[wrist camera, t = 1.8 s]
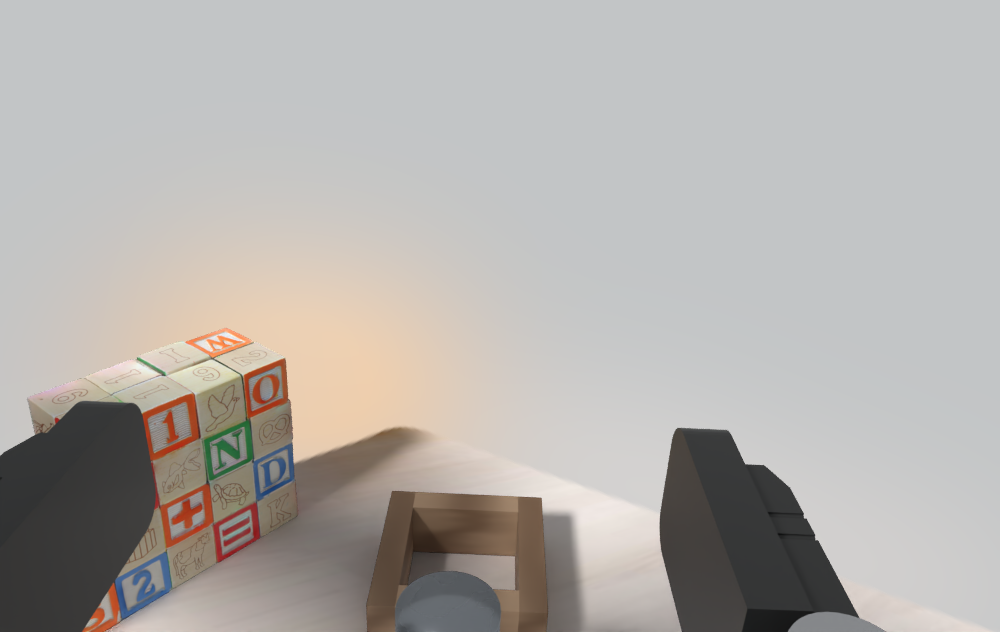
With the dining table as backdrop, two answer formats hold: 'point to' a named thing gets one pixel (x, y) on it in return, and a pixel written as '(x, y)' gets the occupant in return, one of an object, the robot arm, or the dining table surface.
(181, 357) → the stack of blocks
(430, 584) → the brushed steel post
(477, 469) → the dining table surface
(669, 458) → the robot arm
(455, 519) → the wooden square frame
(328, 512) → the dining table surface
